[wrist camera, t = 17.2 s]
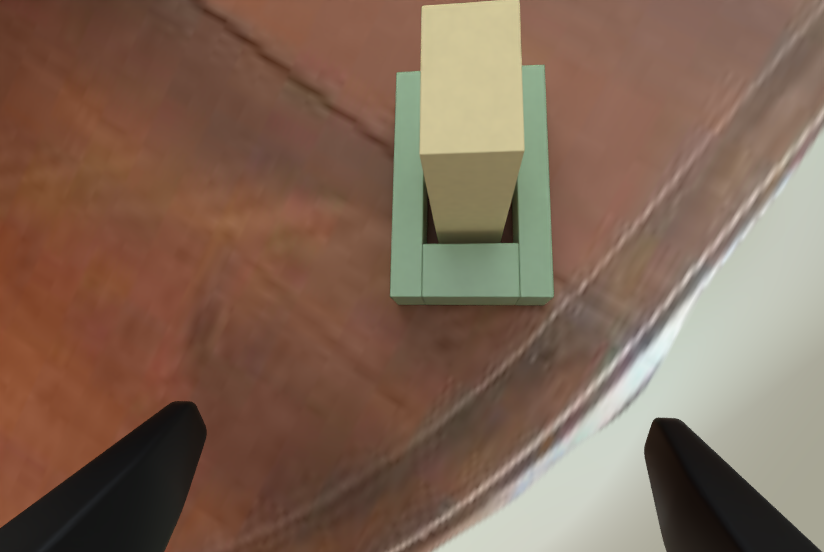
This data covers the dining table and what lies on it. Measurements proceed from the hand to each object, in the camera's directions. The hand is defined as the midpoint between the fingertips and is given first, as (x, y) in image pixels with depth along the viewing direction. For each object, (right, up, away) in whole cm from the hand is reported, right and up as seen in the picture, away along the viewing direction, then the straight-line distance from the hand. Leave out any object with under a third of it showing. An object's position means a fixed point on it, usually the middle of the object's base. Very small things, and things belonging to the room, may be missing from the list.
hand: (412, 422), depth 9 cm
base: (+3, +7, +14) cm, 16 cm away
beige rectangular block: (+3, +7, +14) cm, 16 cm away
